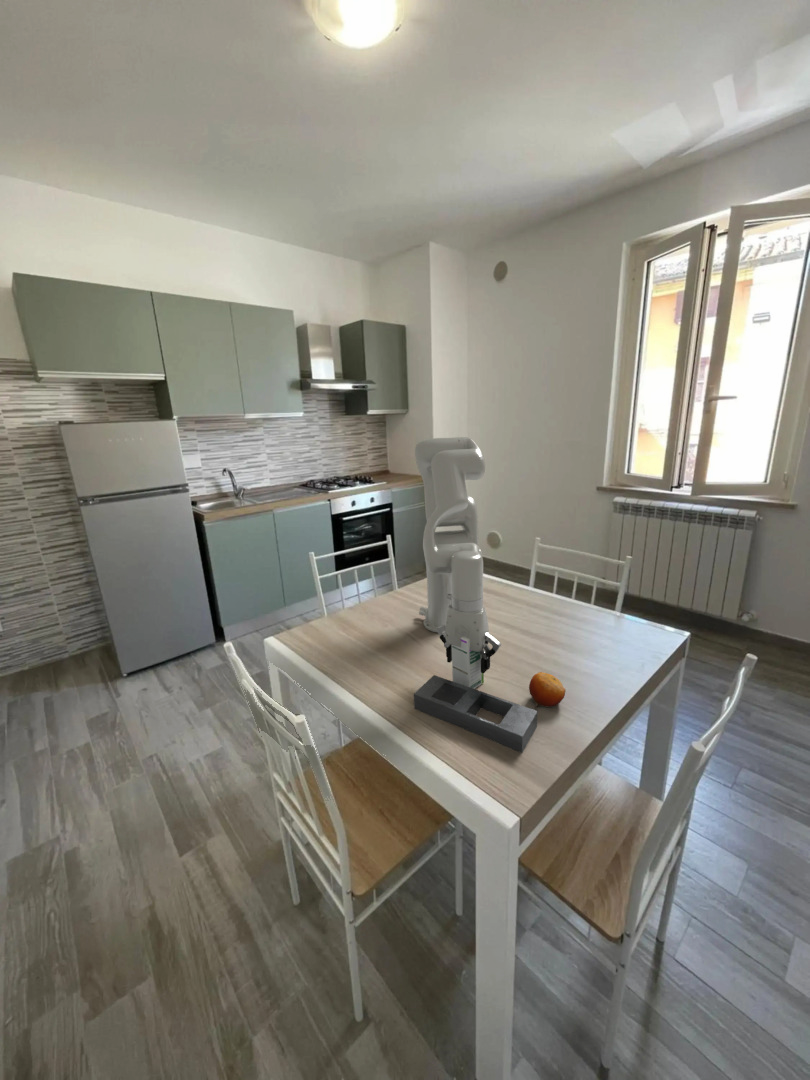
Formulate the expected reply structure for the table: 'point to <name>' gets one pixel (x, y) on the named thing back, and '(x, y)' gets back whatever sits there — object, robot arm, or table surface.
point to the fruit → (546, 690)
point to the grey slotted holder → (464, 705)
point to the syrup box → (466, 665)
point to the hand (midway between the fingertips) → (467, 665)
